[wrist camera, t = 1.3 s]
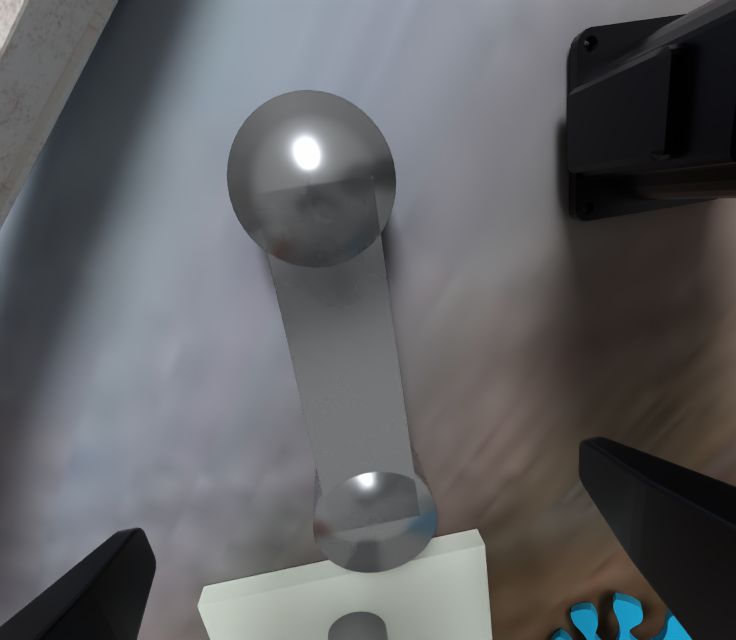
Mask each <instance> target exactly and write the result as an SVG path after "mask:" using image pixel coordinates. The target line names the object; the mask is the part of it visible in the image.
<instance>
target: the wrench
mask: <svg viewBox="0 0 736 640" xmlns="http://www.w3.org/2000/svg"><path fill="white" fill-rule="evenodd" d="M117 2H118V0H0V229H1V227H2V225H3V223H4V221H5V219H6V217H7V216H8V214H9V212H10V210H11V208H12V206H13V204H14V202H15V200H16V198H17V196H18V194H19V192H20V191H21V189H22V187H23V185H24V183H25V181H26V179H27V177H28V175H29V173H30V171H31V169H32V167H33V166H34V164H35V162H36V160H37V158H38V156H39V154H40V152H41V150H42V148H43V146H44V144H45V142H46V141H47V139H48V137H49V135H50V133H51V131H52V129H53V127H54V125H55V123H56V121H57V119H58V117H59V115H60V113H61V111H62V110H63V108H64V106H65V104H66V102H67V100H68V98H69V96H70V94H71V92H72V90H73V88H74V86H75V84H76V82H77V80H78V78H79V76H80V74H81V72H82V70H83V69H84V67H85V65H86V63H87V61H88V59H89V57H90V55H91V53H92V51H93V49H94V47H95V45H96V43H97V41H98V39H99V37H100V35H101V33H102V31H103V30H104V28H105V26H106V24H107V22H108V20H109V18H110V16H111V14H112V12H113V10H114V8H115V6H116V4H117Z"/></svg>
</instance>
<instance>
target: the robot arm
mask: <svg viewBox="0 0 736 640" xmlns="http://www.w3.org/2000/svg"><path fill="white" fill-rule="evenodd" d="M585 41H588V42H589V44H590V52H587V51H586V50H585V48H584V42H585ZM567 168H568V169H569V211H570V215H571V217H572V218H573V219H575V220H579V221H590V220H596V219H602V218H608V217H614V216H619V215H625V214H631V213H637V212H643V211H649V210H655V209H661V208H667V207H673V206H679V205H685V204H691V203H697V202H703V201H709V200H715V199H719V198H736V0H712V1H710V2H708V3H706V4H704V5H703V6H701V7H699V8H697V9H695V10H693V11H691V12H690V13H688V14H682V15H675V16H668V17H661V18H654V19H647V20H639V21H632V22H625V23H618V24H611V25H603V26H596V27H590V28H588V29H586V30H584V31H583V32H581V33H580V34H578V35H577V36H576V37H575V38H574V40H573V42H572V44H571V48H570V95H569V96H568V99H567ZM584 203H587V210H586V211H585V213H583V212H582V209H581V208H582V205H583V204H584ZM579 477H580V480H581V482H582V484H583V486H584V487H585V489H586V491H587V492H588V494H589V495H590V497H591V498H592V500H593V502H594V503H595V505H596V506H597V508H598V509H599V511H600V513H601V514H602V516H603V517H604V519H605V520H606V522H607V524H608V525H609V527H610V528H611V530H612V532H613V533H614V535H615V536H616V538H617V539H618V541H619V543H620V544H621V546H622V547H623V549H624V550H625V552H626V553H627V555H628V556H629V557H630V559H631V560H632V562H633V563H634V564H635V566H636V567H637V568H638V570H639V571H640V572H641V574H642V575H643V576H644V578H645V579H646V580H647V581H648V583H649V584H650V585H651V587H652V588H653V589H654V591H655V592H656V593H657V595H658V596H659V597H660V598H661V600H662V601H663V602H664V604H665V605H666V606H667V608H668V609H669V610H670V612H671V613H672V614H673V615H674V617H675V618H676V619H677V621H678V622H679V623H680V625H681V626H682V627H683V629H684V630H685V631H686V632H687V634H688V635H689V636H690V638H691V639H692V640H736V487H735V486H733V485H730V484H727V483H725V482H722V481H719V480H717V479H714V478H711V477H709V476H706V475H703V474H701V473H698V472H695V471H693V470H690V469H687V468H685V467H682V466H679V465H677V464H674V463H671V462H669V461H666V460H663V459H661V458H658V457H655V456H653V455H650V454H647V453H645V452H642V451H639V450H637V449H634V448H631V447H629V446H626V445H623V444H621V443H618V442H615V441H613V440H610V439H607V438H605V437H593V438H588V439H584V440H582V441H581V442H580V444H579ZM155 570H156V560H155V556H154V554H153V551H152V549H151V546H150V544H149V542H148V539H147V537H146V535H145V532H144V531H143V530H142V529H141V528H131V529H126V530H121V531H118V532H116V533H115V534H114V535H112V536H111V537H110V538H109V539H107V540H106V541H105V542H104V543H103V544H101V545H100V546H99V547H98V548H96V549H95V550H94V551H93V552H92V553H90V554H89V555H88V556H87V557H85V558H84V559H83V560H82V561H81V562H79V563H78V564H77V565H76V566H74V567H73V568H72V569H71V570H69V571H68V572H67V573H66V574H65V575H63V576H62V577H61V578H60V579H58V580H57V581H56V582H55V583H54V584H52V585H51V586H50V587H49V588H47V589H46V590H45V591H44V592H43V593H41V594H40V595H39V596H38V597H36V598H35V599H34V600H33V601H32V602H30V603H29V604H28V605H27V606H25V607H24V608H23V609H22V610H20V611H19V612H18V613H17V614H16V615H14V616H13V617H12V618H11V619H9V620H8V621H7V622H6V623H5V624H3V625H2V626H1V627H0V640H137V637H138V634H139V630H140V626H141V622H142V619H143V615H144V611H145V608H146V604H147V600H148V597H149V593H150V589H151V586H152V582H153V578H154V574H155Z"/></svg>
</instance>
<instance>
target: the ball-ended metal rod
mask: <svg viewBox="0 0 736 640" xmlns="http://www.w3.org/2000/svg"><path fill="white" fill-rule="evenodd" d="M227 182H228V190H229V196H230V200H231V203H232V206H233V209H234V211H235V213H236V216H237V218H238V220H239V222H240V223H241V225H242V226H243V228H244V230H245V231H246V232H247V233H248V235H249V236H250V237H251V238H252V239H253V240H254V241H255V242H256V243H257V244H258V245H259V246H260V247H261V248H262V249H264V250H265V251H266V252H267V255H268V259H269V263H270V268H271V272H272V276H273V281H274V285H275V289H276V294H277V298H278V302H279V307H280V311H281V315H282V320H283V324H284V328H285V333H286V337H287V341H288V346H289V350H290V354H291V359H292V363H293V367H294V372H295V376H296V380H297V385H298V389H299V393H300V398H301V402H302V406H303V411H304V415H305V419H306V424H307V428H308V432H309V437H310V441H311V445H312V450H313V454H314V458H315V463H316V467H317V469H316V478H315V501H314V523H313V531H314V537H315V540H316V543H317V545H318V547H319V549H320V550H321V552H322V553H323V554H324V555H325V556H326V557H327V558H328V559H329V560H330V561H331V562H333V563H334V564H336V565H338V566H340V567H342V568H344V569H347V570H350V571H354V572H361V573H377V572H383V571H388V570H391V569H394V568H397V567H400V566H402V565H404V564H406V563H407V562H409V561H411V560H412V559H414V558H415V557H416V556H417V555H419V554H420V553H421V552H422V551H423V550H424V549H425V547H426V546H427V545H428V544H429V542H430V540H431V539H432V537H433V534H434V532H435V529H436V525H437V510H436V505H435V503H434V500H433V497H432V494H431V492H430V489H429V486H428V483H427V480H426V478H425V475H424V472H423V469H422V467H421V464H420V461H419V459H418V456H417V454H416V452H415V450H414V449H413V447H412V446H411V445H410V440H409V433H408V425H407V418H406V411H405V404H404V397H403V390H402V382H401V375H400V368H399V361H398V354H397V347H396V339H395V332H394V325H393V318H392V311H391V304H390V296H389V289H388V282H387V275H386V268H385V261H384V254H383V246H382V239H381V232H382V230H383V229H384V227H385V225H386V223H387V221H388V219H389V217H390V214H391V211H392V208H393V204H394V199H395V191H396V175H395V168H394V162H393V158H392V155H391V152H390V149H389V147H388V144H387V142H386V140H385V138H384V136H383V135H382V133H381V131H380V130H379V128H378V127H377V126H376V125H375V123H374V122H373V121H372V120H371V118H370V117H368V116H367V115H366V114H365V113H364V112H363V111H362V110H361V109H359V108H358V107H357V106H355V105H354V104H353V103H351V102H349V101H347V100H345V99H343V98H341V97H339V96H336V95H333V94H331V93H326V92H322V91H313V90H302V91H294V92H289V93H285V94H282V95H279V96H277V97H274V98H272V99H271V100H269V101H267V102H265V103H264V104H262V105H261V106H260V107H258V108H257V109H256V110H255V111H254V112H253V113H252V114H251V115H250V116H249V117H248V118H247V119H246V120H245V122H244V123H243V125H242V126H241V128H240V129H239V131H238V133H237V135H236V137H235V139H234V141H233V144H232V147H231V150H230V154H229V159H228V168H227Z"/></svg>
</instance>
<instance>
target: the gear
mask: <svg viewBox="0 0 736 640" xmlns="http://www.w3.org/2000/svg"><path fill="white" fill-rule="evenodd" d="M613 608H614V612H615V614H616V616H617V618H618V621H619V625H620V627H619V632H618V635H617V638H616V640H638V639H636V638H635V637H634V636H633V635H632V634H631V633H630V629H631V628H633V627H634V626H636V625H638V624H640V623H641V621H642V619H643V612H642V607H641V604H640V601H638V600H637V599H635V598H633V597H631V596H628V595H624V594H620V593H615V594H614V596H613ZM571 618H572V621H573V623H574V624H575V626H576V627H577V628H578V629H579V630H580V631H581V632H582V633H583V634H584V636H585V637H586V639H587V640H601V639H600V638H599V637H598V636H597V634H596V630H597V626H598V614H597V610H596V608H595V607H594V606H593V605H592V604H591V603H579V604H576V605H574V606H572V608H571ZM551 640H572V638H571V636H570V635H569V634H568V633H567V632H566V631H564V630H563V629H560V630H558V631H557V632H556V633H555V634H554V635H553V636H552V638H551ZM650 640H692V639H691V638H690V636H689V635H688V634H687V632H686V631H685V630H684V629H683V627H682V626H681V625H680V623H679V622H678V621H677V619H676V618H675V617H674V615H673V614H672V613H671V612H670V610H669V609H668V610H667V612H666V615H665V624H664V627H663V629H662V631H661V632H660V633H659V634H658V635H656V636H655V637H653V638H651V639H650Z"/></svg>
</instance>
